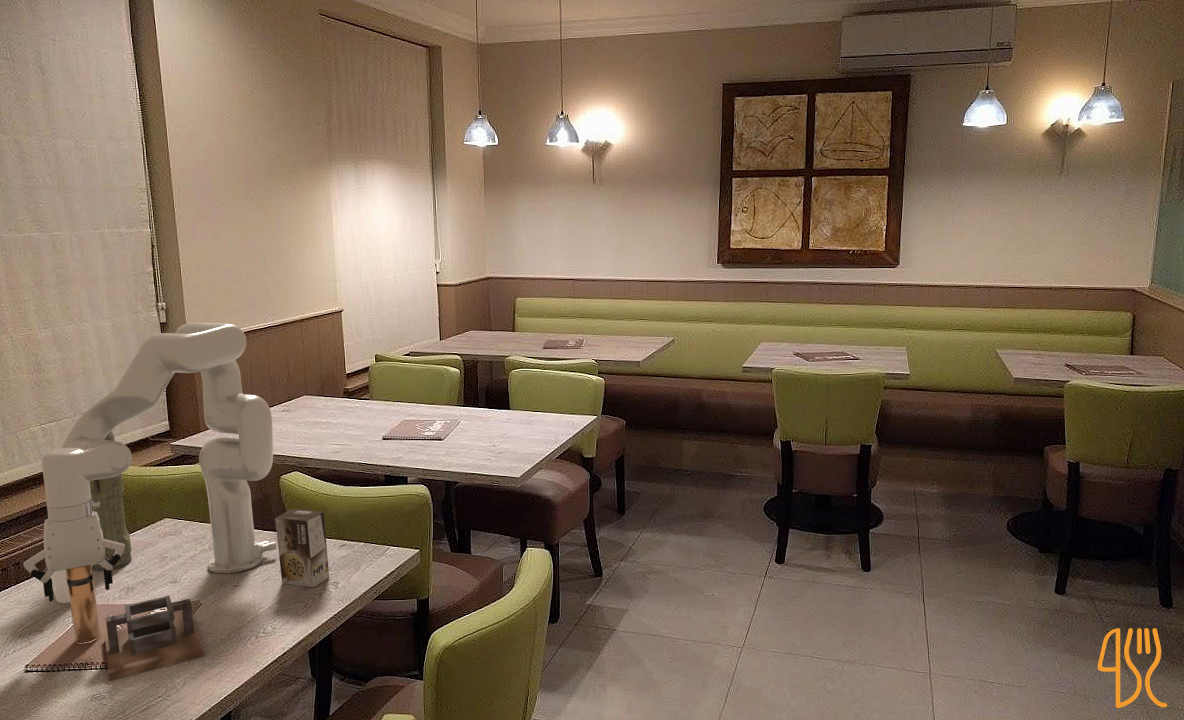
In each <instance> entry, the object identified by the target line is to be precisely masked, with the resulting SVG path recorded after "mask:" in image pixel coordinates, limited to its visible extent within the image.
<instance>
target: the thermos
mask: <svg viewBox="0 0 1184 720" xmlns="http://www.w3.org/2000/svg"><path fill="white" fill-rule="evenodd" d="M104 440H110V441H116V440H115V435H114V433H113V430H111V431H110V432H109V433H108V435H107V436H106V437H105V439H104ZM124 489H125V488H124V481H123V473H122V474H120V475H118V476H116V477H112V478H106V479H99V480H93V481H90V491H91V500H93V501H100V506H101V507H99V508H96V509H94V510H93V511H94V512H97V514H98V517H99V520H100V523H101V528H102V533H103V539H106V540H110V541H114V542H119V543H123V544H124V545H125V549H124V551H123V553H122V555H121V557H120V560H119V561H118V562H117V563H116V564H115V565H114V567H113V569H112V570H117V569H119V567H120V568H122V566H123V567H125V566H127V565H129V564H130V563H132V561H131V560H133V559H132V558H133V557H132V553H131V552H132V544H131V543H132V542H131V536H130V533H129V530H128V529H127V525H126V516H125V508H124V500H123V495H124V493H125V490H124ZM115 551H116V550H115V549H111V548H107V547H105V557H106V558H108V559H110V558H111V557H112V556H113V555H114V553H115ZM129 562H130V563H129ZM128 563H129V564H128ZM126 564H127V565H126ZM124 565H125V566H124ZM91 567H92V570H94V571H97V572H99V571H100V572H101V571H102V572H103V568H104V567H102V566H101V565H99V564H98V563H97V564H94V565H91Z"/></svg>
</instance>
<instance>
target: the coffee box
mask: <svg viewBox="0 0 1184 720" xmlns="http://www.w3.org/2000/svg"><path fill="white" fill-rule="evenodd" d="M274 520H275V522H274V523H275V529H276V539H277V547H278V557H279V568H280V577H281V584H285V585H293V586H300V587H308V588H309V587H310V588H314V587H315V588H316V587H317V586H318V585H320V584H321V583H322V582H324V581H326V580H327V579H329V578H330V572H329V558H328V548H327V547H328V546H327V538H326V537H327V535H326V526H325V525H326V523H325V512H324V511H321V510H320V511H319V510H308V509H297V508H296V509H295V508H291V509H289V510H287V511H286V512H283V513H282V514H280V515H278V516H276V517H275V518H274Z"/></svg>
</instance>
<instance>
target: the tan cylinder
mask: <svg viewBox="0 0 1184 720" xmlns="http://www.w3.org/2000/svg"><path fill="white" fill-rule="evenodd" d="M66 576H67V578H66V580H67V585H68V591H69V598H70V603H69V604H70V611H71V619H72V626H73V634H74V642H75V641H76V642H77V643H84V642H89V641H92V640H94V639H97V638H98V637H99V636H100V637H101V630H100V622H99V615H98V607H97V600H96V592H95V584H94V572H93V568H92V565H89V566H83V567H78V568H73V569H67V570H66ZM76 642H75V643H76Z"/></svg>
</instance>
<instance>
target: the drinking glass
mask: <svg viewBox="0 0 1184 720" xmlns="http://www.w3.org/2000/svg"><path fill="white" fill-rule="evenodd" d="M51 578H52V584H53V592H54V597H55V601H56V603H58V604H63V605H65V604H70V598H69V591H68V585H67V580H66V578H67V576H66V570H62V571H55V572H54V574H53V575H52V576H51Z"/></svg>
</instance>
